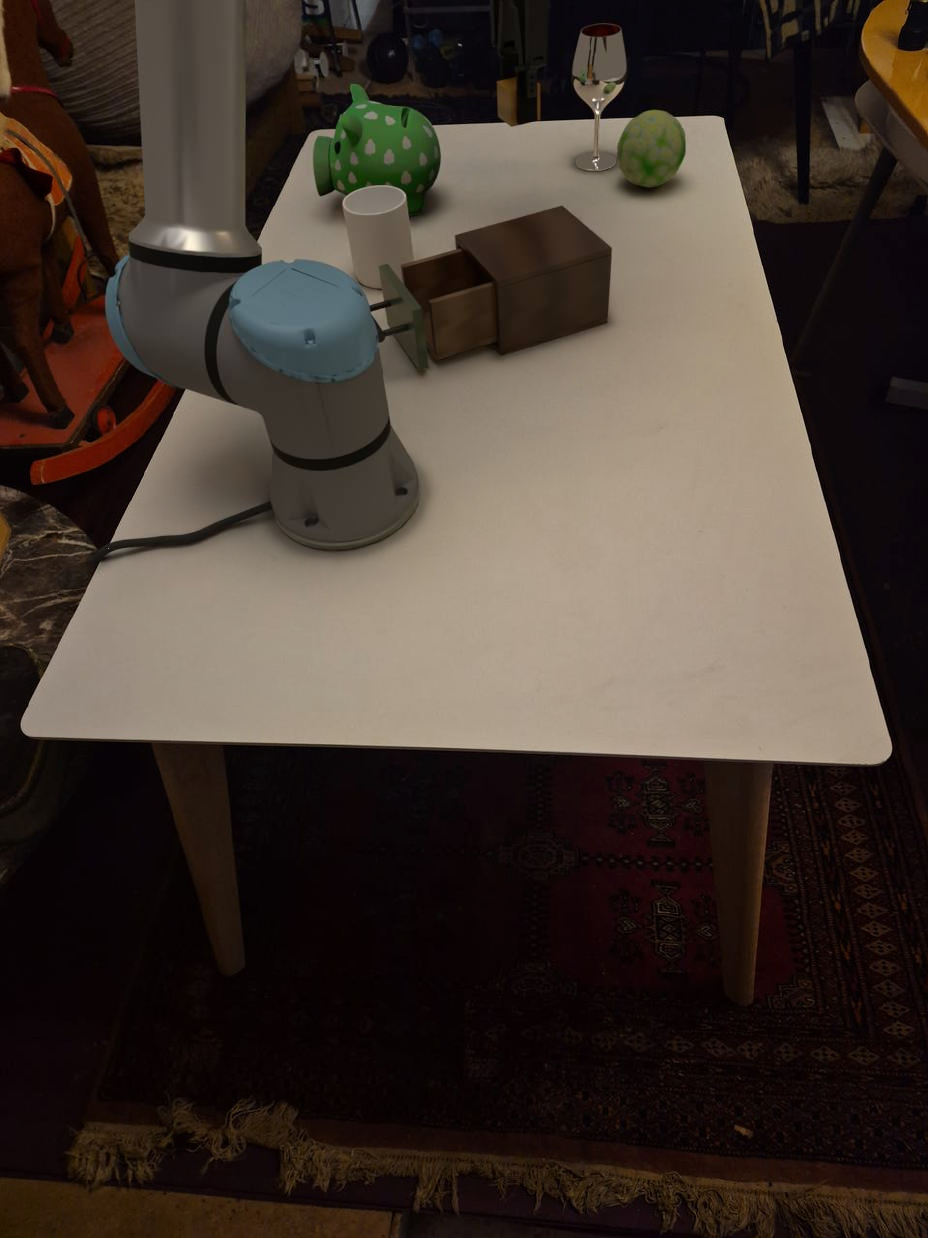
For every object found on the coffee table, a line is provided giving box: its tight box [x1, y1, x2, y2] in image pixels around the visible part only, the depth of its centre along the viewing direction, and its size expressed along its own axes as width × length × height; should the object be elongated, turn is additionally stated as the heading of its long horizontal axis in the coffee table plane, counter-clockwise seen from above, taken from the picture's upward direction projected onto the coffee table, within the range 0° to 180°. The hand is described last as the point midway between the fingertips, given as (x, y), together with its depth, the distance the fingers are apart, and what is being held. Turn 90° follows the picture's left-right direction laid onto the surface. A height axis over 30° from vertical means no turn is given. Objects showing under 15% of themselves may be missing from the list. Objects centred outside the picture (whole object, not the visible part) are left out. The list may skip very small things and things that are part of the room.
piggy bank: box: [312, 83, 442, 217], centre depth 126 cm, size 14×18×15 cm
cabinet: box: [454, 205, 613, 356], centre depth 105 cm, size 15×13×10 cm
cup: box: [341, 185, 415, 290], centre depth 115 cm, size 8×12×10 cm
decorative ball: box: [616, 109, 687, 189], centre depth 126 cm, size 10×10×10 cm
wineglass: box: [570, 23, 628, 172], centre depth 129 cm, size 8×8×18 cm
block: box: [496, 77, 541, 128], centre depth 117 cm, size 4×4×4 cm
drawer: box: [369, 248, 498, 372], centre depth 102 cm, size 18×11×8 cm, turn 113°
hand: (519, 115), depth 118 cm, fingers closed on block, 4 cm apart
